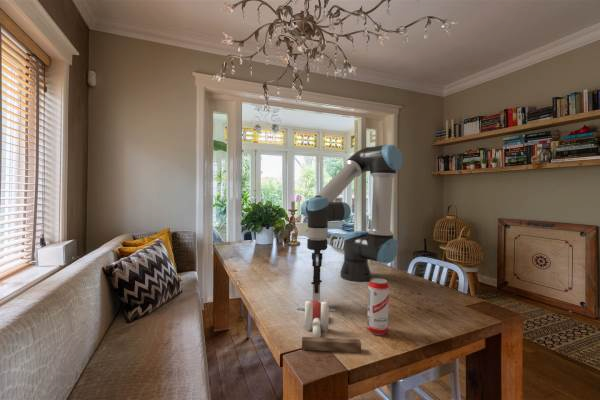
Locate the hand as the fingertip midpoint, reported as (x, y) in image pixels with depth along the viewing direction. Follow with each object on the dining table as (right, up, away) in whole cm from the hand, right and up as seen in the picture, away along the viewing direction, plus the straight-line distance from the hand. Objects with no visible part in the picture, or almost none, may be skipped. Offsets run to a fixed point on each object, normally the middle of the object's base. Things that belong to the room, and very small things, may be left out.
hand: (316, 300), depth 107 cm
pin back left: (-4, -3, -18) cm, 19 cm away
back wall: (+2, -3, -29) cm, 29 cm away
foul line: (0, -2, -4) cm, 4 cm away
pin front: (-1, -1, -15) cm, 15 cm away
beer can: (+18, -3, -19) cm, 26 cm away
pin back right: (+1, -3, -19) cm, 19 cm away
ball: (-1, +1, -11) cm, 11 cm away
